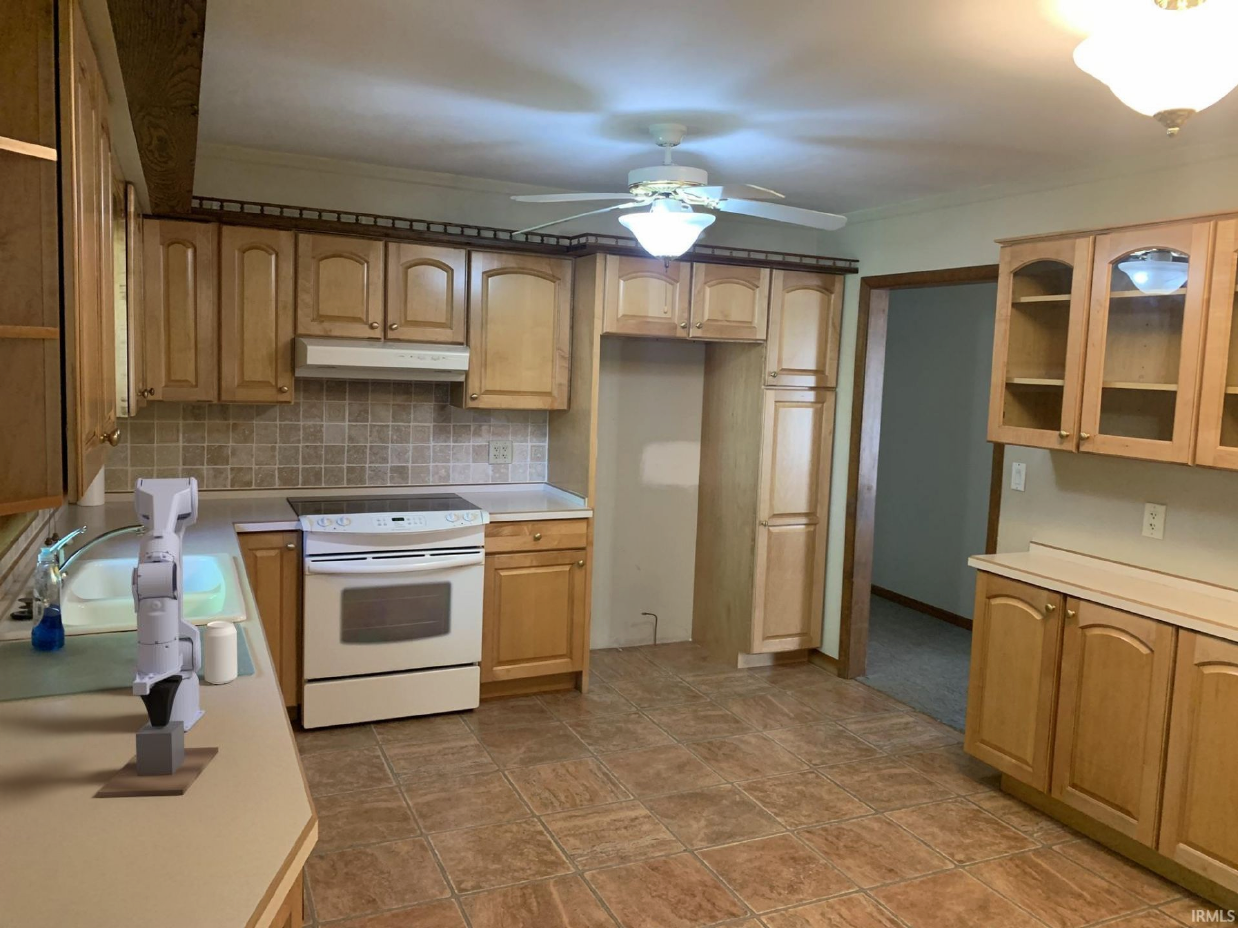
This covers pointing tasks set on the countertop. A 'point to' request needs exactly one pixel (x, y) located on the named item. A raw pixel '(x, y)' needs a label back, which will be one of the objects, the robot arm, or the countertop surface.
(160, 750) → the gray rectangular prism
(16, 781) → the countertop surface
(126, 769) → the flat brown plate
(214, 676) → the beverage can
